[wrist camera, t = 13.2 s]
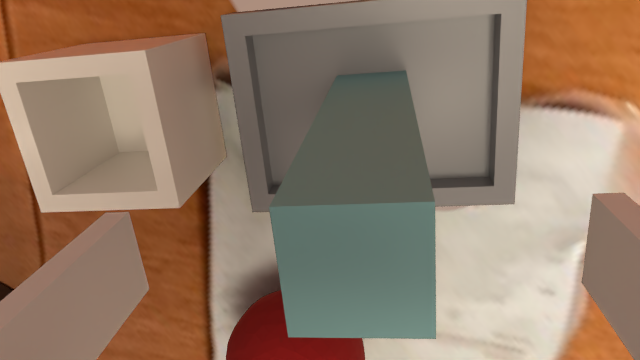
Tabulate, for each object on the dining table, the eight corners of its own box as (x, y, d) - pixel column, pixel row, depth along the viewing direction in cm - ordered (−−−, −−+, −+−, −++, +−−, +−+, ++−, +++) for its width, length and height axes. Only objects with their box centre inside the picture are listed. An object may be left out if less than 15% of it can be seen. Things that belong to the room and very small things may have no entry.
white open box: (116, 161, 34) (41, 212, 26) (85, 43, 31) (-10, 63, 23) (226, 156, 32) (180, 208, 25) (204, 32, 29) (144, 50, 22)
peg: (342, 140, 30) (288, 337, 13) (336, 75, 28) (269, 207, 12) (407, 136, 29) (435, 338, 13) (405, 70, 28) (434, 201, 11)
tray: (261, 196, 33) (252, 212, 31) (233, 12, 29) (220, 15, 26) (504, 187, 31) (514, 204, 28) (515, -15, 26) (527, -15, 24)
